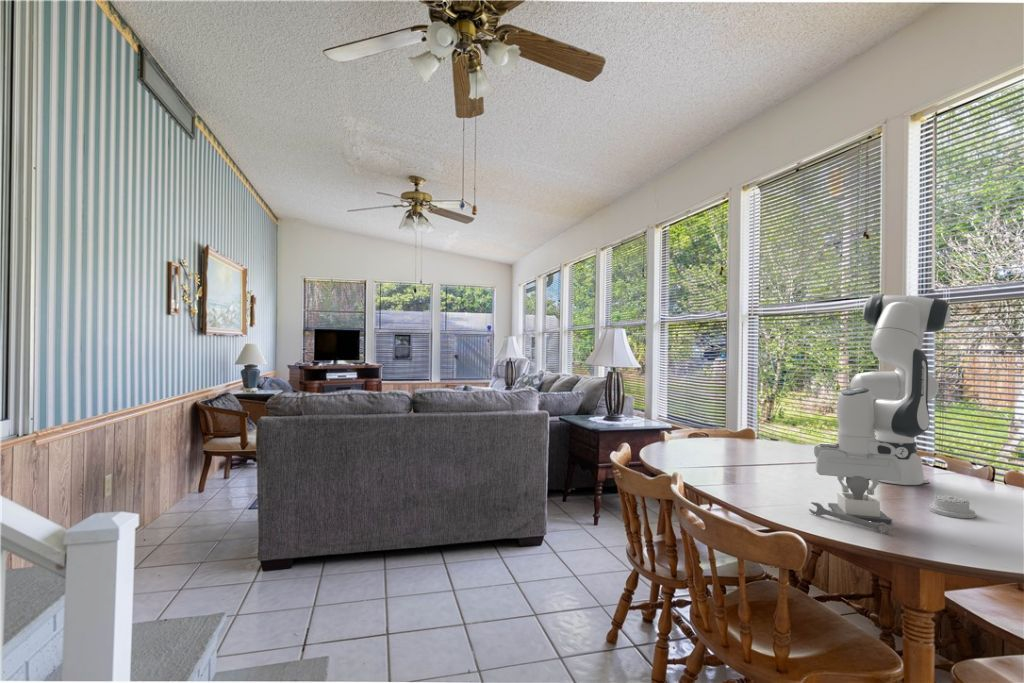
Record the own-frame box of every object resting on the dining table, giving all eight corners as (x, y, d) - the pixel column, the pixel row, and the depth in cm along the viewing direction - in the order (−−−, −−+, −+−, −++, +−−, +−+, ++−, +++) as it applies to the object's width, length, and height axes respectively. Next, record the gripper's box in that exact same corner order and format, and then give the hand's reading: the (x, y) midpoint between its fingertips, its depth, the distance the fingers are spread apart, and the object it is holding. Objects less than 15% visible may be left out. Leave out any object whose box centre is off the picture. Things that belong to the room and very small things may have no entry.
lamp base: (828, 506, 147) (827, 489, 147) (875, 510, 143) (875, 492, 143) (839, 519, 136) (839, 501, 136) (891, 523, 132) (891, 505, 132)
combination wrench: (890, 522, 125) (810, 500, 142) (888, 523, 124) (808, 500, 142) (890, 537, 125) (810, 513, 142) (888, 538, 124) (808, 513, 142)
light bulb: (874, 508, 139) (872, 472, 139) (863, 511, 136) (862, 475, 136) (853, 503, 143) (852, 468, 144) (842, 506, 141) (841, 471, 141)
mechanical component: (932, 505, 147) (925, 513, 141) (932, 491, 147) (925, 497, 141) (978, 513, 139) (972, 522, 133) (977, 498, 140) (972, 505, 133)
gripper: (815, 444, 142) (816, 492, 142) (903, 449, 133) (904, 500, 133) (812, 440, 148) (814, 486, 147) (896, 445, 138) (898, 494, 138)
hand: (857, 493), depth 140 cm, fingers closed on light bulb, 5 cm apart
